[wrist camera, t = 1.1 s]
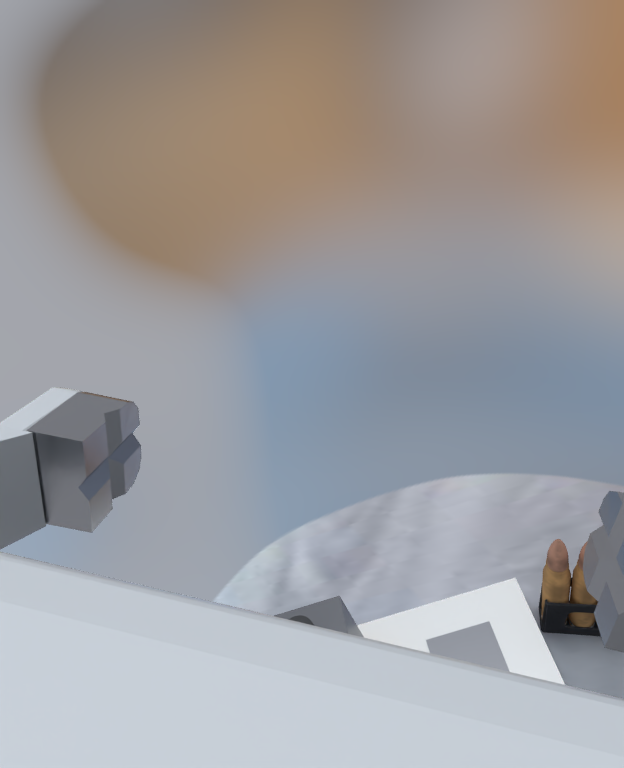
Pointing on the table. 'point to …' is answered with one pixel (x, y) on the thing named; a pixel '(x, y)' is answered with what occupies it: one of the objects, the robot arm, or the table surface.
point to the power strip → (474, 631)
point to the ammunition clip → (566, 595)
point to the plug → (325, 616)
